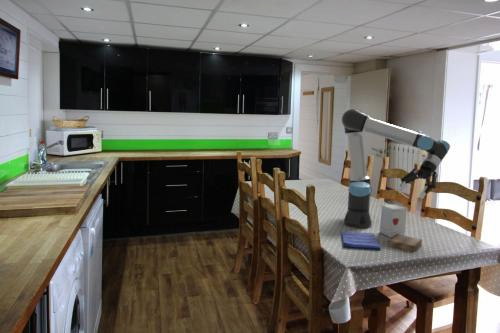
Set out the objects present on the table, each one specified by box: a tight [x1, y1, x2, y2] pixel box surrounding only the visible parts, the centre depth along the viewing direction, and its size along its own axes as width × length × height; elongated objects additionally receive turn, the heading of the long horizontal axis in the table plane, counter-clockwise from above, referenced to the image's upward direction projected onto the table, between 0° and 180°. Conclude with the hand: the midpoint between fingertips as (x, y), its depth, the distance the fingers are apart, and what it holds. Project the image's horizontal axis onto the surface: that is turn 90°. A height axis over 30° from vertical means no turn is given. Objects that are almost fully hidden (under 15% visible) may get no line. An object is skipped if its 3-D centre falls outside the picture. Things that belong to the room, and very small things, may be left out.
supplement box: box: [379, 203, 408, 238], centre depth 199 cm, size 9×9×15 cm
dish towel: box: [340, 229, 382, 251], centre depth 189 cm, size 17×24×3 cm
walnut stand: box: [387, 234, 423, 253], centre depth 183 cm, size 12×12×3 cm
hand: (409, 194), depth 203 cm, fingers open, 13 cm apart
